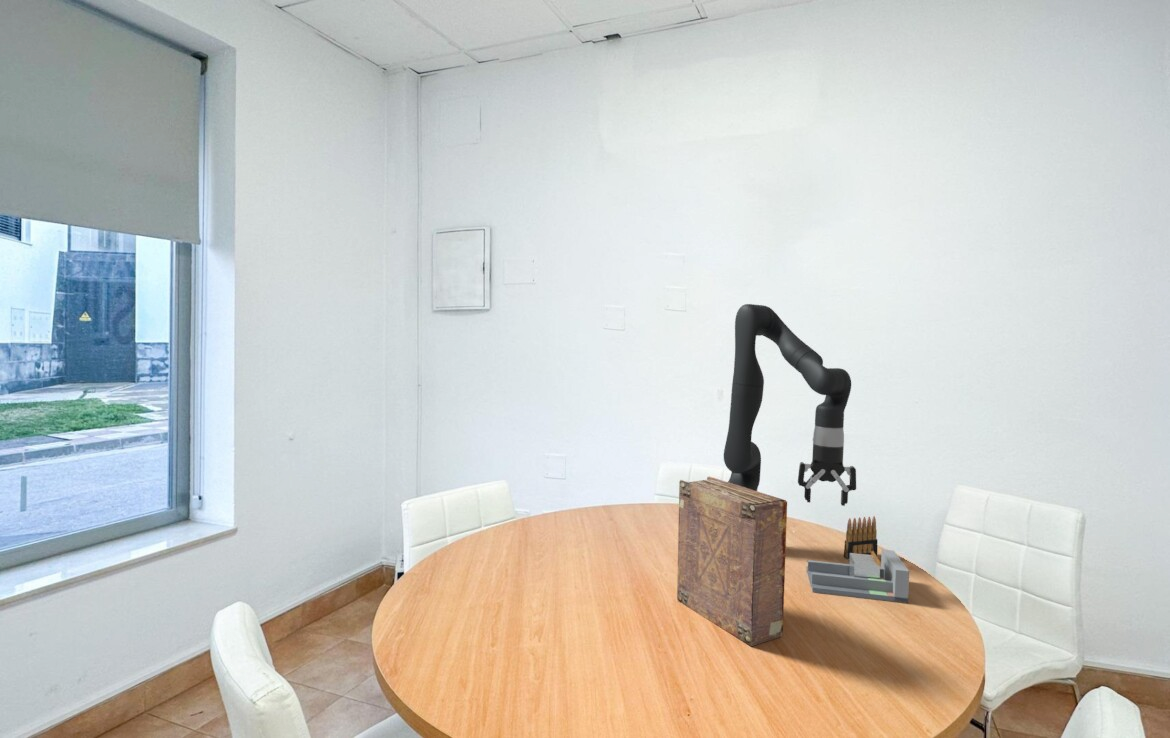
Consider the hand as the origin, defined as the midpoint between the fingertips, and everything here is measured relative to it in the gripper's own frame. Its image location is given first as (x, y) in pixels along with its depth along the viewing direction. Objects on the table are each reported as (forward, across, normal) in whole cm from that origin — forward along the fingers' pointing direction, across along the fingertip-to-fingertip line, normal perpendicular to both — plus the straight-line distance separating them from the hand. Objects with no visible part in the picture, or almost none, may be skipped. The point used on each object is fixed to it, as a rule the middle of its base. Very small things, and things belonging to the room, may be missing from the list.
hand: (825, 503), depth 155 cm
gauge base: (+21, +8, -1) cm, 22 cm away
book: (+21, -24, -29) cm, 44 cm away
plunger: (+19, +10, -1) cm, 22 cm away
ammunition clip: (+21, +14, +23) cm, 34 cm away
